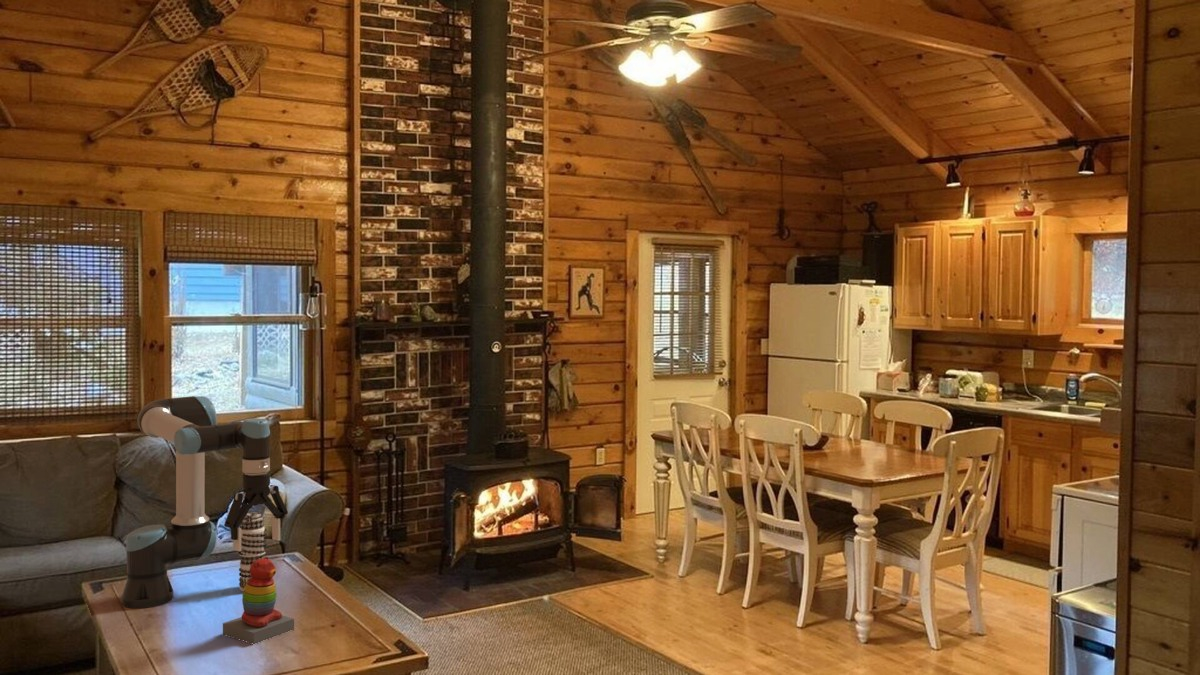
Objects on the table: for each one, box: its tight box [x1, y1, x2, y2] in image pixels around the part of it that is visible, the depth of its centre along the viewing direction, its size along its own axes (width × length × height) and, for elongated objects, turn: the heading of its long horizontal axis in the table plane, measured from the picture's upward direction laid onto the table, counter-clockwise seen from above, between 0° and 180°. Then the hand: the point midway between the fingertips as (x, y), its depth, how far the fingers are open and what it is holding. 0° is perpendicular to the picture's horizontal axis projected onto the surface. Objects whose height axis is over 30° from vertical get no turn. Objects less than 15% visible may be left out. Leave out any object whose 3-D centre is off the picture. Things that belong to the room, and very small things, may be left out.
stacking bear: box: [241, 556, 282, 627], centre depth 285 cm, size 11×10×18 cm
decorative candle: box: [237, 511, 267, 592], centre depth 327 cm, size 9×9×25 cm
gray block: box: [222, 615, 295, 645], centre depth 286 cm, size 14×14×4 cm
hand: (257, 545), depth 285 cm, fingers open, 13 cm apart
